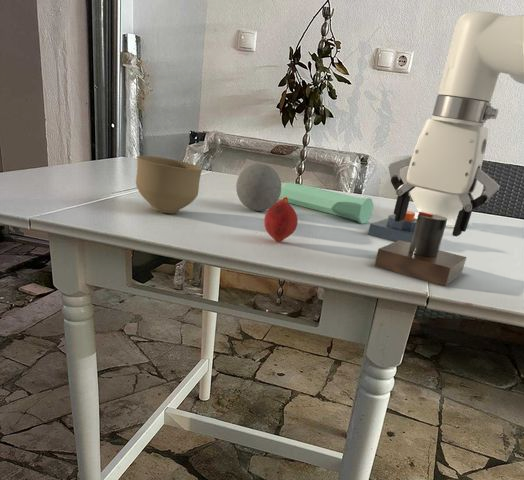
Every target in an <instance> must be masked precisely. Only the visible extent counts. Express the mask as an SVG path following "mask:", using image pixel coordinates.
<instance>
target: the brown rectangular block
mask: <svg viewBox="0 0 524 480" xmlns="http://www.w3.org/2000/svg"><path fill="white" fill-rule="evenodd" d="M410 245H411V243H409V242H405V241H401V240H399V241H393V242H391V243H389V244H388V245H385V246H382V247H380V248H378V249H377V254H376V257H375V261H374V267H376V268H378V269H381V270H382V269H383V270H385V271H388V272H389V271H390V272H394V273H396V274H400V275H404V276H407V277H411V278H413V279H416V280H417V279H418V280H422V281H425V282H428V283H431V284H435V285H439V286H443V287H447V286H448V285H449V284H450V283H452V282H453V281H455V279H457V278H458V277H460V276H461V275H462V273H463V271H464V267H465V264H466V261H467V256H464V255H460V254H457V253H452V252H447V251H444V250H441V249H439V251H438V255H437V256H435V257H427V256H421V255H417V254H414V253H412V252H410V251H409V249H410Z"/></svg>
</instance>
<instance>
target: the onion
mask: <svg viewBox="0 0 524 480" xmlns="http://www.w3.org/2000/svg"><path fill="white" fill-rule="evenodd" d="M298 222H299V221H298V215H297V213H296V211H295V209H294V207H293V206H292V205H291V203H288V198H287V197H282V198H281V197H280V198H279V200H278V201H277V202H276V203H275V204H274V205H273V206H272V207H270V208H269V209H267V210H266V213H265V215H264V229H265V231H266V232H267V234H268V235H269V236H270V238H272V239H273V240H274V241H275V242H276V243H282V242H283V241H284V240H286V239H287V238H289V237H290V236H291V235H292V234H294V232H295V231H296V230H297V227H298Z"/></svg>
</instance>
